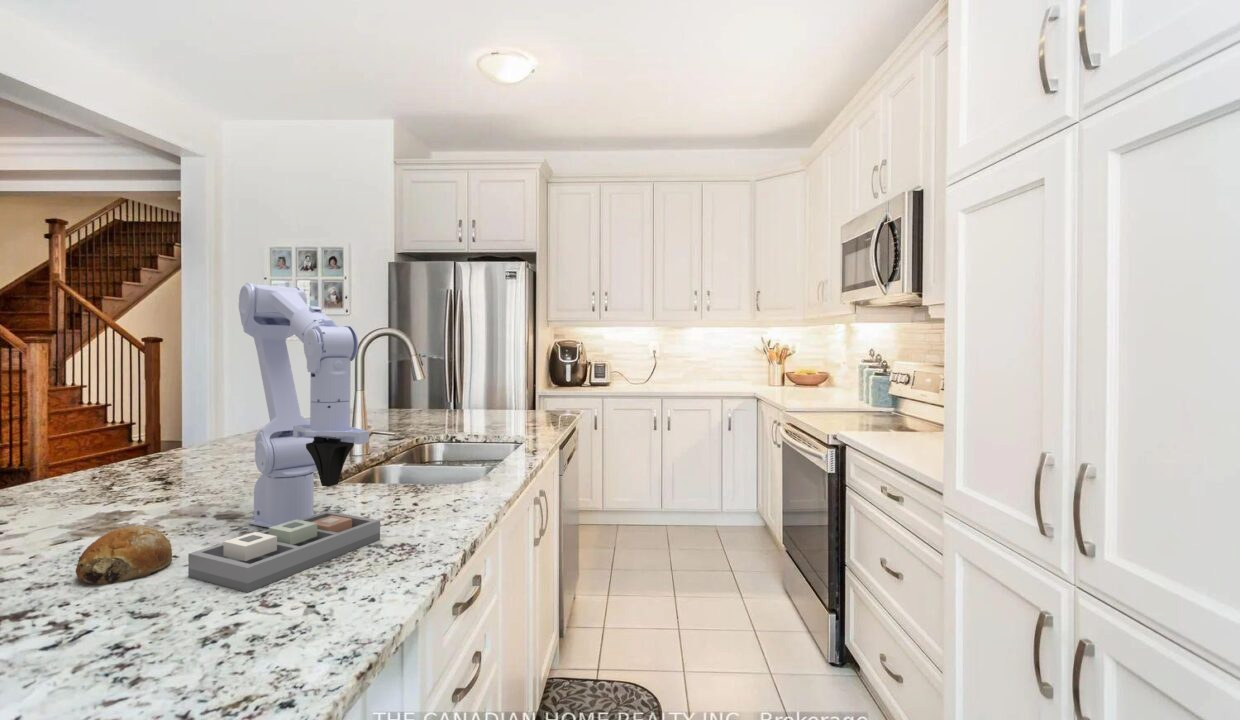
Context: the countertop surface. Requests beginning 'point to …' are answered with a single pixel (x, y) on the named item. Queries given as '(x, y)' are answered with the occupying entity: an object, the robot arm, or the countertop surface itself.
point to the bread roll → (124, 555)
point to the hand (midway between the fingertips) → (330, 485)
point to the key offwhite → (250, 546)
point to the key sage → (294, 531)
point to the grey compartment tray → (281, 556)
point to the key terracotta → (334, 523)
